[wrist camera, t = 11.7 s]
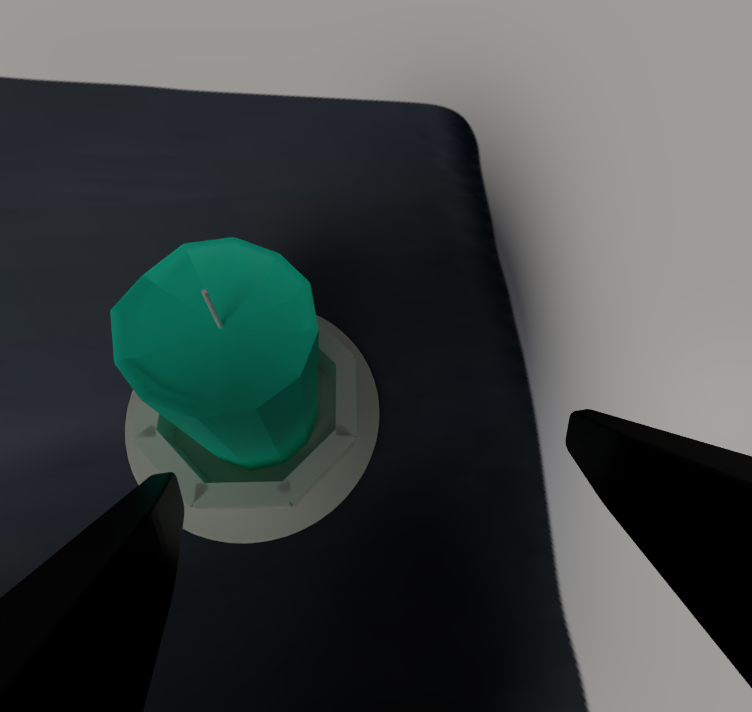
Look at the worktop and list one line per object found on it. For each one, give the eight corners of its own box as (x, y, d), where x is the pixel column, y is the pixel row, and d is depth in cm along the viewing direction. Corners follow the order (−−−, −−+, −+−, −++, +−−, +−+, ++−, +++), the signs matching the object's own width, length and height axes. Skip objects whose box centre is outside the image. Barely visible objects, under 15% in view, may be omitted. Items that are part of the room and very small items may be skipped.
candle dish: (381, 537, 21) (392, 538, 18) (108, 548, 19) (66, 551, 16) (373, 314, 26) (381, 284, 23) (156, 307, 24) (132, 273, 21)
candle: (290, 344, 23) (267, 180, 12) (336, 437, 22) (357, 343, 11) (184, 387, 22) (50, 240, 11) (225, 492, 20) (114, 446, 9)
